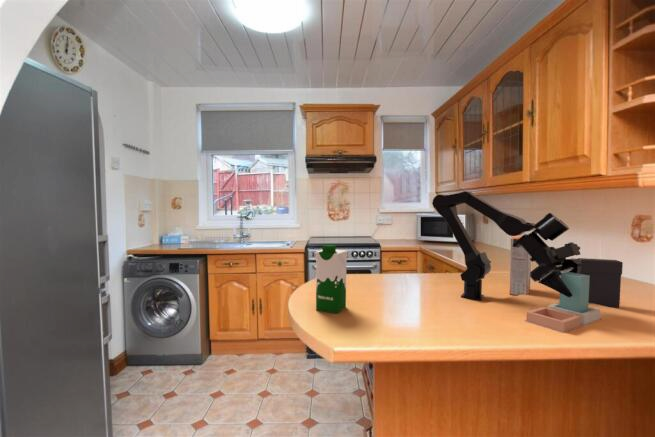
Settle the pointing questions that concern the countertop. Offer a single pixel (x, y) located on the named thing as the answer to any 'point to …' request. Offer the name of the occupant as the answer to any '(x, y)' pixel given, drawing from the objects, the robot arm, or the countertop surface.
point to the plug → (575, 292)
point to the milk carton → (330, 279)
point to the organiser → (561, 318)
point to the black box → (603, 280)
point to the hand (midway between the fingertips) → (579, 294)
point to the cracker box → (519, 270)
